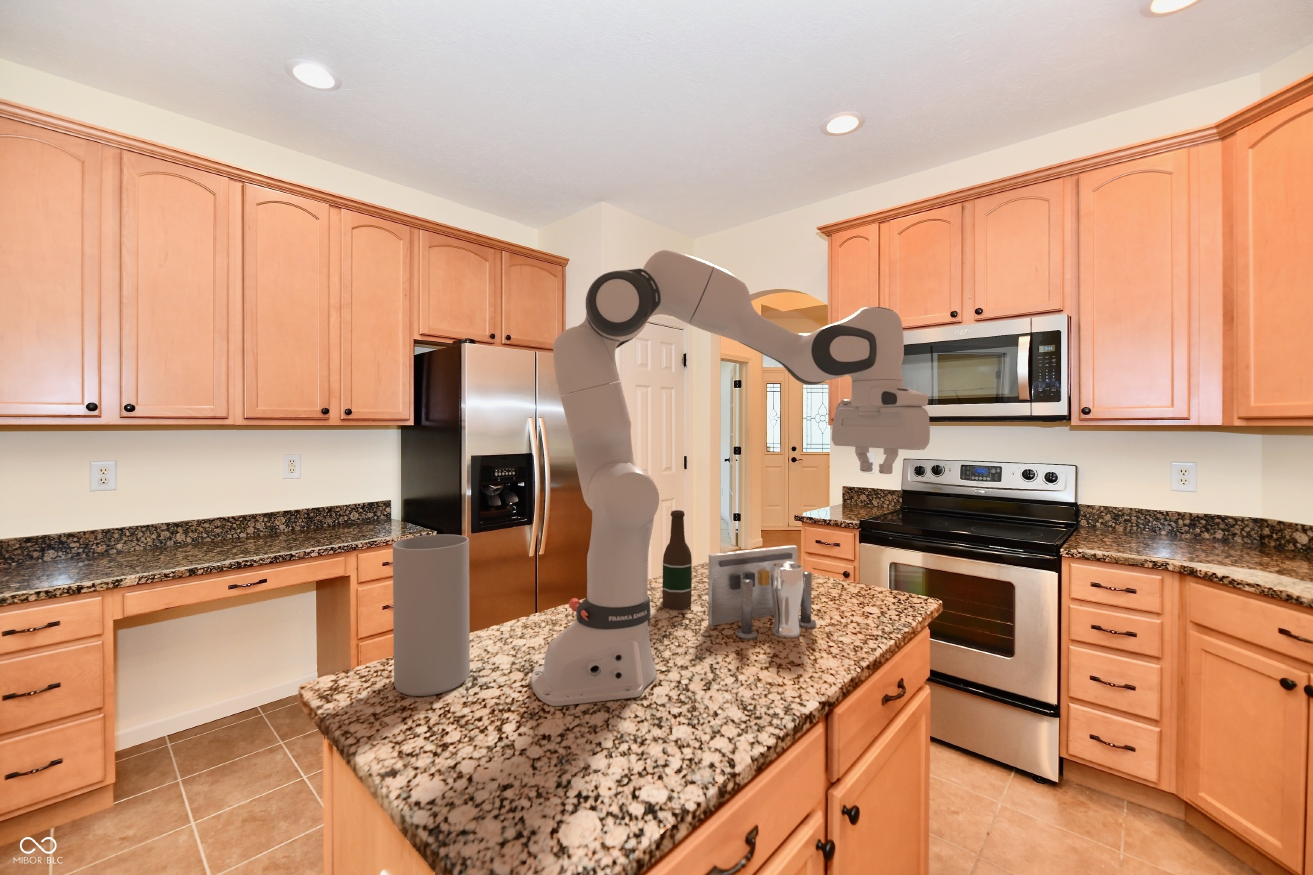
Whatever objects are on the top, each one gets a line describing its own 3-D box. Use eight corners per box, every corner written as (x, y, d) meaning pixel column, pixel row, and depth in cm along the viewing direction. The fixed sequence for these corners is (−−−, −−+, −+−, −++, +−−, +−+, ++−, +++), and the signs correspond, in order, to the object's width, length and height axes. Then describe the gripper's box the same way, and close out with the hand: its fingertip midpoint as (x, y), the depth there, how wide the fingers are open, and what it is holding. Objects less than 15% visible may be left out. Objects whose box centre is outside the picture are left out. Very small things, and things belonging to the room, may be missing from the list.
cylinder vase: (484, 675, 100) (483, 539, 99) (422, 705, 89) (421, 553, 89) (441, 659, 107) (440, 531, 106) (379, 685, 96) (377, 543, 96)
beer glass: (791, 641, 116) (792, 571, 116) (763, 632, 121) (764, 564, 121) (808, 632, 121) (809, 565, 121) (781, 624, 126) (782, 559, 126)
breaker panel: (713, 627, 124) (714, 556, 124) (708, 623, 127) (708, 554, 126) (799, 612, 134) (800, 547, 134) (792, 609, 136) (793, 545, 136)
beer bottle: (657, 601, 142) (658, 509, 141) (686, 599, 144) (686, 508, 143) (667, 611, 134) (667, 514, 134) (697, 608, 137) (697, 512, 136)
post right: (804, 629, 123) (804, 576, 123) (791, 623, 127) (792, 571, 127) (819, 626, 125) (820, 574, 124) (807, 620, 129) (807, 569, 128)
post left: (743, 640, 116) (744, 584, 116) (732, 633, 120) (732, 579, 120) (761, 637, 118) (761, 582, 118) (749, 630, 122) (749, 577, 122)
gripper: (824, 399, 109) (823, 468, 110) (909, 394, 90) (908, 478, 91) (848, 400, 112) (848, 467, 112) (936, 395, 93) (935, 477, 93)
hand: (875, 472), depth 101 cm, fingers open, 3 cm apart
